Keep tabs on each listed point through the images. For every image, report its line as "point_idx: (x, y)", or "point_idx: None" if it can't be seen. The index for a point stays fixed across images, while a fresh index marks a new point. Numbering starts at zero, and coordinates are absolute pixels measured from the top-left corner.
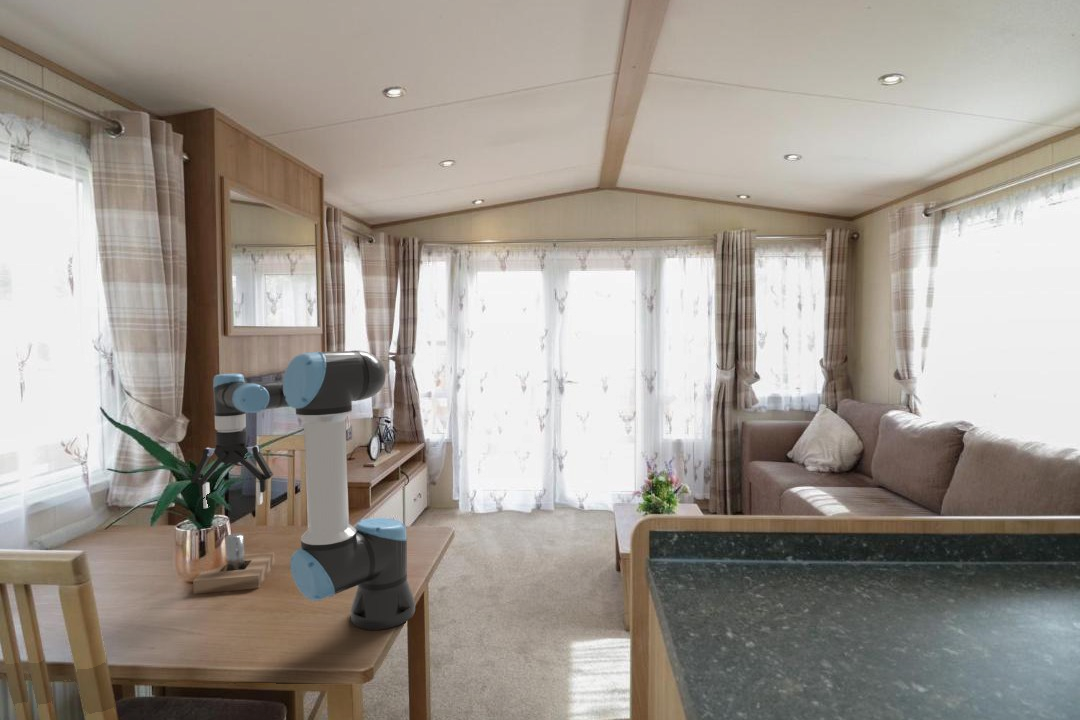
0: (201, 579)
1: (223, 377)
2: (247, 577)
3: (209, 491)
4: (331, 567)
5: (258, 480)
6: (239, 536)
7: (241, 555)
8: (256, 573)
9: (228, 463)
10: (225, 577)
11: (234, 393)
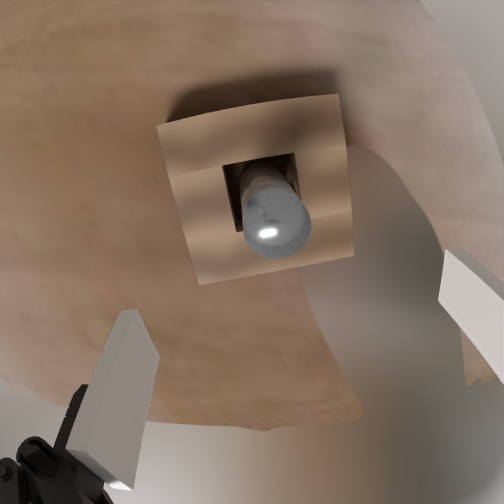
0: (319, 100)
1: None
2: (187, 118)
3: (484, 353)
4: None
5: (114, 478)
6: (253, 222)
7: (242, 195)
8: (169, 138)
9: None
10: (252, 109)
11: None
